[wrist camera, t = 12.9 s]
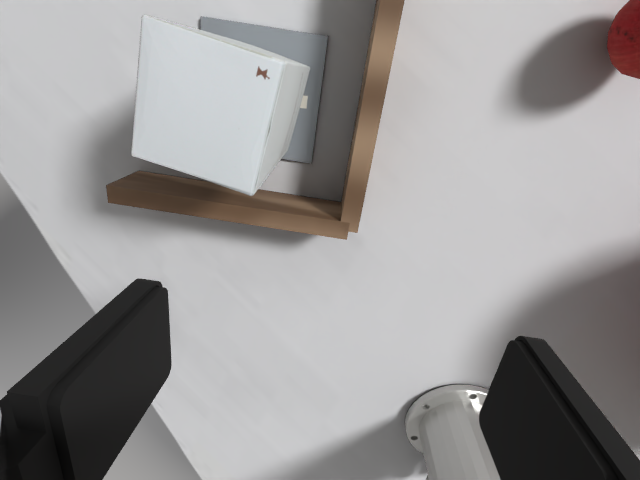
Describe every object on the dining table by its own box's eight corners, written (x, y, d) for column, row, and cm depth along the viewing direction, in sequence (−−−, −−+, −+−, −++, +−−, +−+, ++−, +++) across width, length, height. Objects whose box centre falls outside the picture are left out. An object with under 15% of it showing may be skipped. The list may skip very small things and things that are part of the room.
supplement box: (223, 34, 28) (138, 5, 16) (312, 66, 28) (291, 60, 17) (206, 127, 31) (125, 156, 19) (287, 154, 32) (255, 199, 20)
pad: (311, 162, 32) (311, 163, 32) (201, 145, 32) (200, 146, 32) (328, 36, 28) (327, 36, 28) (201, 16, 28) (200, 16, 27)
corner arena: (354, 219, 34) (355, 240, 29) (139, 186, 34) (108, 202, 29) (406, -49, 25) (419, -77, 21) (118, -94, 25) (69, -132, 21)
